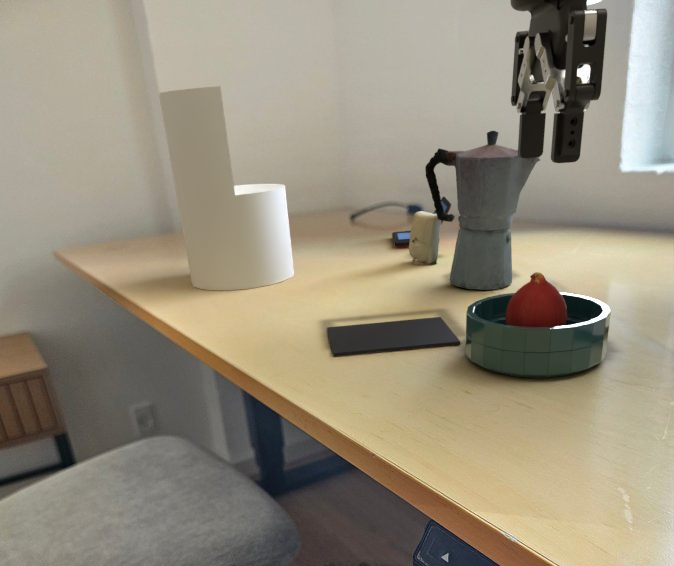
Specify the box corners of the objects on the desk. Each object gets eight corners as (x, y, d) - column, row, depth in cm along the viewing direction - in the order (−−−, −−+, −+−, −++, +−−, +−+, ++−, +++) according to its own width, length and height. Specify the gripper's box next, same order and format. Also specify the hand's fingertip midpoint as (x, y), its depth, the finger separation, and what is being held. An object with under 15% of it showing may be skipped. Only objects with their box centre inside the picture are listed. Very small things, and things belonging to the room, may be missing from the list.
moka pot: (530, 292, 89) (540, 128, 80) (418, 291, 94) (415, 137, 84) (535, 276, 97) (544, 125, 88) (431, 276, 102) (430, 133, 92)
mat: (440, 319, 81) (440, 316, 80) (460, 344, 72) (460, 341, 71) (327, 330, 80) (327, 327, 80) (333, 356, 71) (333, 353, 71)
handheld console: (391, 237, 135) (390, 199, 131) (444, 234, 134) (444, 195, 131) (394, 249, 124) (392, 207, 120) (451, 245, 123) (452, 203, 120)
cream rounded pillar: (447, 259, 112) (447, 210, 108) (436, 266, 108) (436, 215, 104) (415, 258, 114) (414, 210, 111) (404, 265, 110) (403, 215, 107)
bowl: (571, 332, 73) (576, 286, 70) (629, 373, 61) (636, 321, 59) (452, 343, 72) (453, 298, 70) (486, 387, 60) (488, 335, 58)
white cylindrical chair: (192, 295, 102) (156, 90, 89) (191, 273, 117) (160, 96, 104) (301, 282, 104) (282, 81, 92) (286, 262, 120) (268, 87, 107)
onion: (517, 339, 70) (521, 263, 66) (571, 346, 67) (579, 266, 63) (495, 356, 66) (498, 276, 62) (552, 364, 63) (558, 280, 59)
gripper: (657, -98, 45) (624, 161, 52) (574, -50, 57) (557, 153, 65) (549, -91, 44) (531, 168, 52) (489, -44, 57) (482, 158, 64)
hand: (546, 159), depth 58 cm, fingers open, 8 cm apart
